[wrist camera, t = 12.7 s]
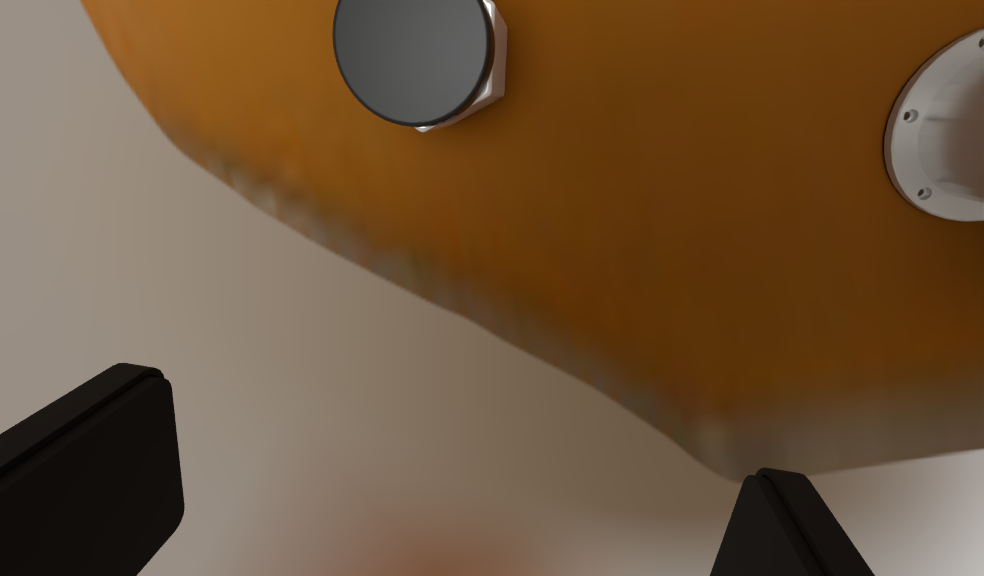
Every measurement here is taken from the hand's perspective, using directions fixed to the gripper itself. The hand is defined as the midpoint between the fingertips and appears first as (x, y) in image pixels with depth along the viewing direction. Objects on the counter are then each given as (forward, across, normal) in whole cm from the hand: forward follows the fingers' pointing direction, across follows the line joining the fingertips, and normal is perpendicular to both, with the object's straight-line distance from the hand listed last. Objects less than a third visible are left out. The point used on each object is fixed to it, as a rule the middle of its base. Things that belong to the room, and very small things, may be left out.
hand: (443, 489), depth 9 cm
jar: (+34, +6, -8) cm, 35 cm away
